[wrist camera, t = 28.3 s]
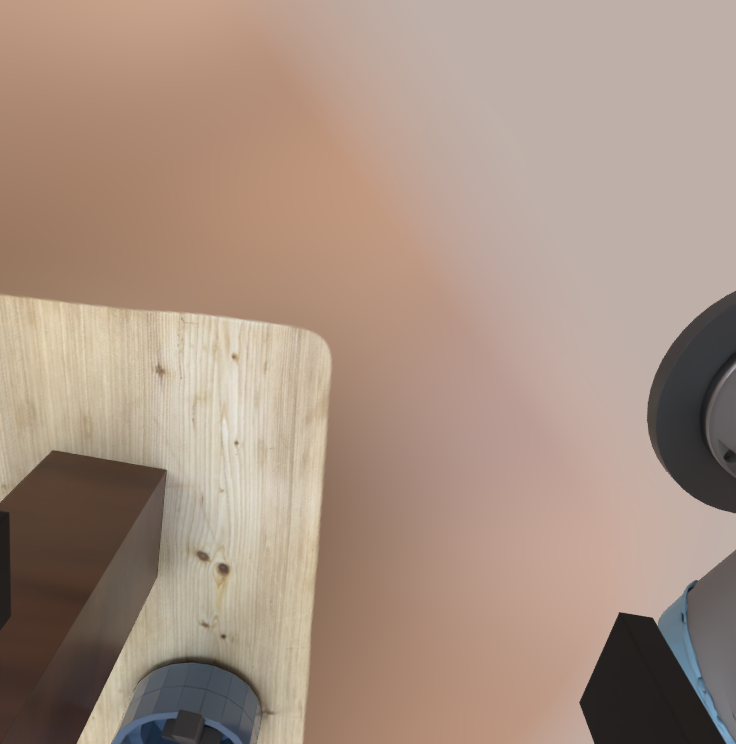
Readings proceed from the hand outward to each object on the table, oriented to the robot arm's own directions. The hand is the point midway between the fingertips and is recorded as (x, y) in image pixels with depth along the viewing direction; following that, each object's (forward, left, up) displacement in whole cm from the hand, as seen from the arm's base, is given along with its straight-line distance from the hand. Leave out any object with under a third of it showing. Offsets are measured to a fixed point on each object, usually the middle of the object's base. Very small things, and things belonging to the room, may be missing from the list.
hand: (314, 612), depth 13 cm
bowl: (+8, +49, -37) cm, 62 cm away
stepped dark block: (+7, +43, -30) cm, 53 cm away
